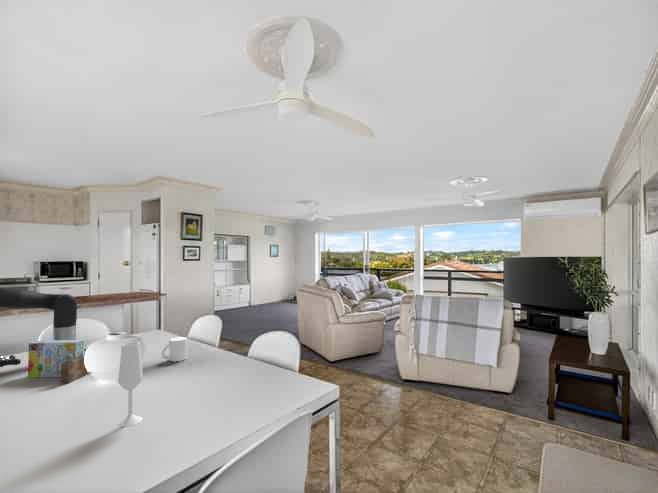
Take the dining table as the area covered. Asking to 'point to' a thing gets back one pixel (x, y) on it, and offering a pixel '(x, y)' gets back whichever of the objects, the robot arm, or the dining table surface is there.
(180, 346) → the mug
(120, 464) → the dining table surface
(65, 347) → the snack box
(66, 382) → the block
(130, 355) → the champagne flute
